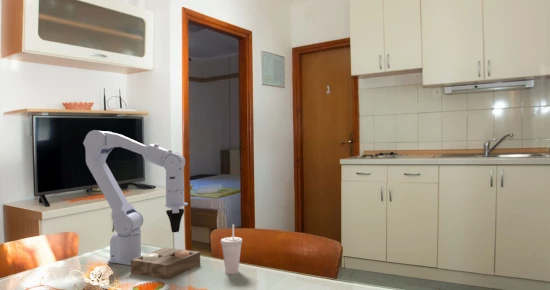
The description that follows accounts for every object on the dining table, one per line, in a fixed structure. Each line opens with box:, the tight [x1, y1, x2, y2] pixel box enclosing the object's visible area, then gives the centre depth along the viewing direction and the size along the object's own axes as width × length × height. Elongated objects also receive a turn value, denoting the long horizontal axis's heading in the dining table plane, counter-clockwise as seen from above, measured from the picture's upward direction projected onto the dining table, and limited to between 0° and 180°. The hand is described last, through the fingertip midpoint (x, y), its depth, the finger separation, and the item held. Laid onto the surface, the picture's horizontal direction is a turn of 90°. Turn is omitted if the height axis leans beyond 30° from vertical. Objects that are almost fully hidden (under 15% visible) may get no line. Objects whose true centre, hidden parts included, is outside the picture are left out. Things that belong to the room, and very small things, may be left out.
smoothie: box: [220, 224, 243, 275], centre depth 115 cm, size 6×6×14 cm
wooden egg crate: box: [130, 247, 201, 281], centre depth 118 cm, size 14×15×4 cm
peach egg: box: [175, 250, 190, 258], centre depth 120 cm, size 4×4×3 cm
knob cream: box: [142, 252, 158, 261], centre depth 117 cm, size 4×4×3 cm
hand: (175, 231), depth 127 cm, fingers closed
